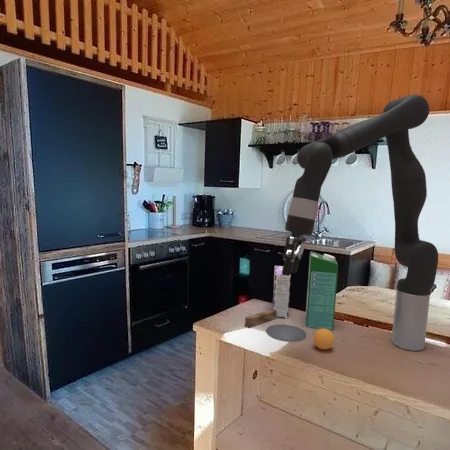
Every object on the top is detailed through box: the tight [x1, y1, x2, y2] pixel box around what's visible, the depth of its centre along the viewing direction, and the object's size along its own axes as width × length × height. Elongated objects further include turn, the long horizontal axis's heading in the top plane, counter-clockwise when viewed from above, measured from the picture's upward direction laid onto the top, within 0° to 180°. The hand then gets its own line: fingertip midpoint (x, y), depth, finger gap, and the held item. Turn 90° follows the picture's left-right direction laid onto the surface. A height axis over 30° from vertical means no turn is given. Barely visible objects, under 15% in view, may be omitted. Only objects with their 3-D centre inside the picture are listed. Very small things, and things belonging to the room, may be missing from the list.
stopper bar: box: [244, 308, 277, 329], centre depth 126 cm, size 14×2×3 cm, turn 132°
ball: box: [313, 328, 335, 350], centre depth 107 cm, size 6×6×6 cm
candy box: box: [272, 265, 292, 319], centre depth 136 cm, size 14×6×16 cm, turn 172°
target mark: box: [265, 323, 307, 342], centre depth 118 cm, size 13×13×1 cm
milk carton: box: [305, 251, 339, 331], centre depth 125 cm, size 9×9×25 cm
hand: (289, 273), depth 99 cm, fingers open, 8 cm apart
